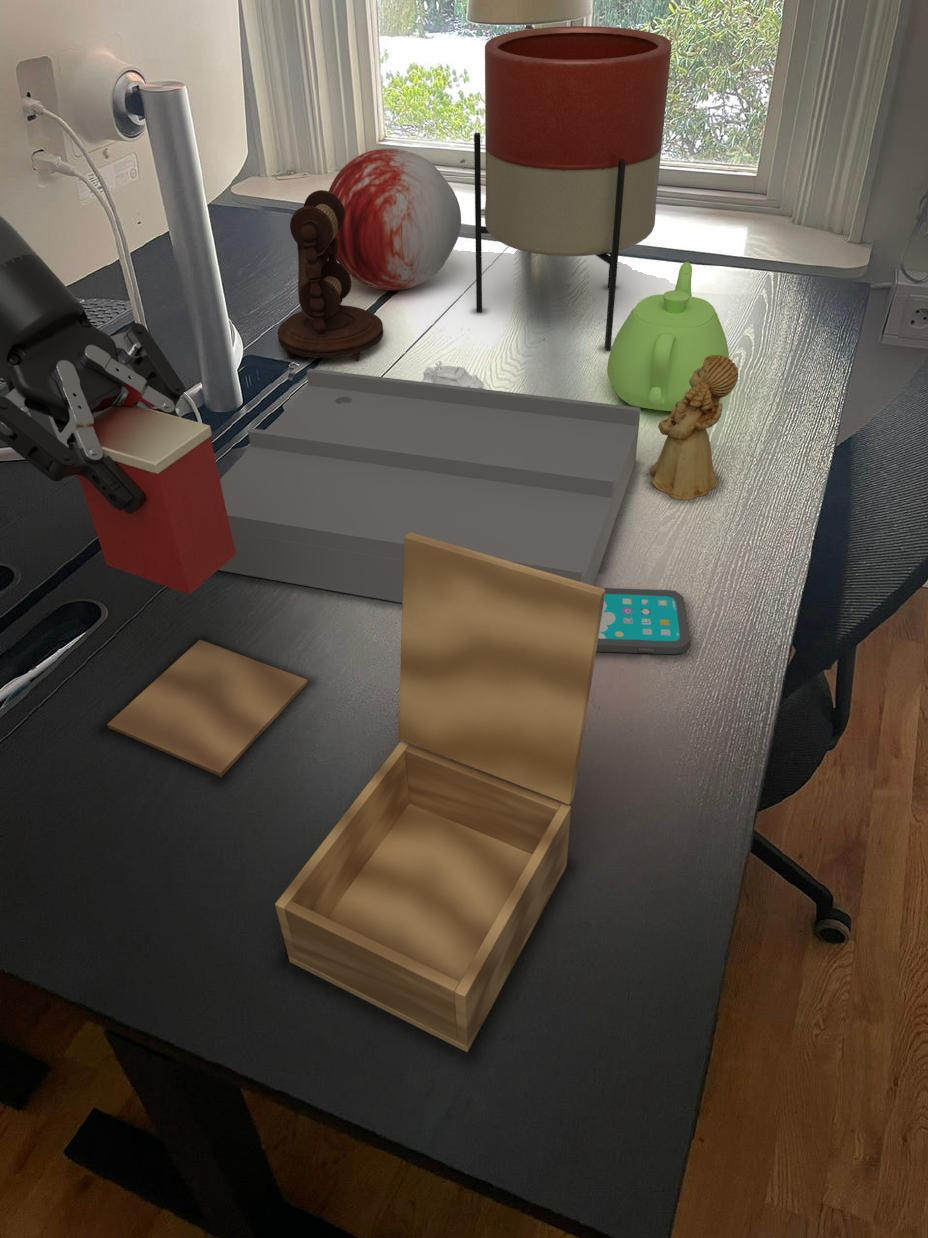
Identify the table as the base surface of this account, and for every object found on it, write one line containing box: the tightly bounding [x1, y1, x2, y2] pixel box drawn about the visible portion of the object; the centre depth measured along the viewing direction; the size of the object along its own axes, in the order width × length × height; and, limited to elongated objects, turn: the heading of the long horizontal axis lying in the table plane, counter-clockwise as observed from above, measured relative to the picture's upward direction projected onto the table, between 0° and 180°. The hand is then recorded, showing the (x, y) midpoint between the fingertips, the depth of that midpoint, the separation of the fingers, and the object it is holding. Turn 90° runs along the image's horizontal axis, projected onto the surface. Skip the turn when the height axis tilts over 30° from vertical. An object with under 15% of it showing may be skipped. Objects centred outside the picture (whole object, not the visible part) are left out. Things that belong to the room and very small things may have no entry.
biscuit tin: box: [76, 405, 236, 595], centre depth 70 cm, size 6×8×11 cm
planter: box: [473, 25, 673, 352], centre depth 134 cm, size 24×25×35 cm
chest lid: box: [397, 533, 605, 805], centre depth 64 cm, size 16×13×1 cm
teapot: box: [606, 261, 730, 412], centre depth 122 cm, size 22×15×13 cm
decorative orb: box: [328, 147, 462, 291], centre depth 149 cm, size 21×20×20 cm
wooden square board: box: [106, 639, 309, 778], centre depth 83 cm, size 12×12×1 cm
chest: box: [274, 740, 572, 1053], centre depth 65 cm, size 15×13×7 cm
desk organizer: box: [218, 368, 642, 604], centre depth 103 cm, size 32×40×7 cm
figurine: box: [650, 355, 739, 501], centre depth 104 cm, size 8×8×15 cm
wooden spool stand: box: [277, 189, 384, 362], centre depth 132 cm, size 15×15×20 cm
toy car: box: [420, 360, 485, 389], centre depth 125 cm, size 5×8×4 cm, turn 73°
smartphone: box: [596, 587, 690, 655], centre depth 90 cm, size 9×1×15 cm
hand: (169, 483), depth 68 cm, fingers closed on biscuit tin, 5 cm apart
